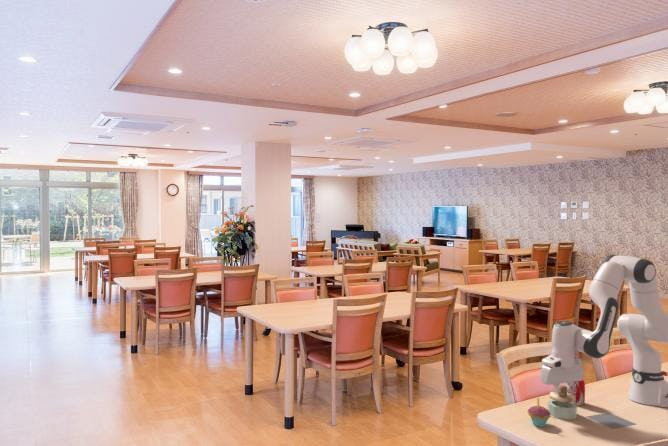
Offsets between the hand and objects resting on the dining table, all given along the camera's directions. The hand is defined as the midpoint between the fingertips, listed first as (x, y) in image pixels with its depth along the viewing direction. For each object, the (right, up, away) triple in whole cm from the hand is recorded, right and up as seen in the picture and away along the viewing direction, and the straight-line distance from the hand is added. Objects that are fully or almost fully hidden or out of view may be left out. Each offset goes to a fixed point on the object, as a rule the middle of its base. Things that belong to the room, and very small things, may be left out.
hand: (562, 392), depth 220 cm
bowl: (0, -10, 0) cm, 10 cm away
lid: (0, -2, 0) cm, 2 cm away
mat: (+17, -10, -6) cm, 21 cm away
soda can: (+12, -10, +13) cm, 21 cm away
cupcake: (-14, -10, -9) cm, 19 cm away
